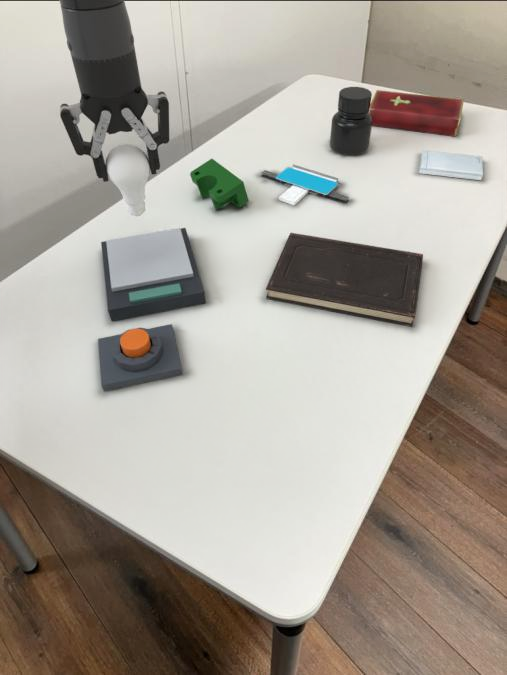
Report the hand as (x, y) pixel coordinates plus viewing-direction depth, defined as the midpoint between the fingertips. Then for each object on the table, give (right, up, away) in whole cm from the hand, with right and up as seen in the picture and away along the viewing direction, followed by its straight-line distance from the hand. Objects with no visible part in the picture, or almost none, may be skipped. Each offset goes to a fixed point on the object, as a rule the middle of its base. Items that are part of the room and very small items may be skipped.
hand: (129, 175), depth 73 cm
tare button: (+1, -25, -1) cm, 25 cm away
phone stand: (+28, +7, +32) cm, 43 cm away
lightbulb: (0, -5, +5) cm, 7 cm away
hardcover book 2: (+57, +30, +52) cm, 83 cm away
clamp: (+11, +4, +30) cm, 32 cm away
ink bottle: (+39, +20, +44) cm, 62 cm away
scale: (0, -13, +14) cm, 19 cm away
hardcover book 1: (+33, -14, +12) cm, 38 cm away
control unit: (+1, -26, +1) cm, 26 cm away
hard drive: (+60, +13, +36) cm, 71 cm away
